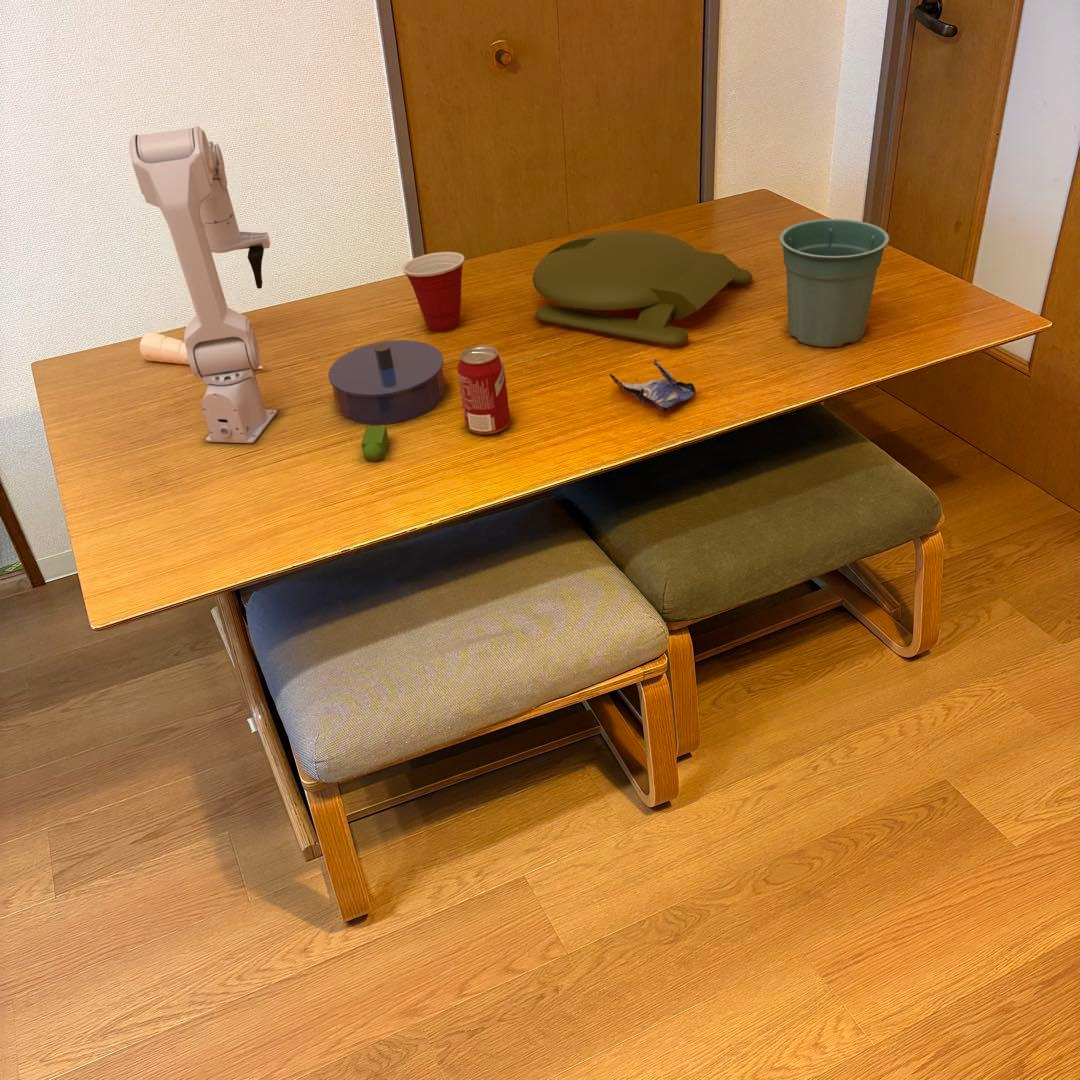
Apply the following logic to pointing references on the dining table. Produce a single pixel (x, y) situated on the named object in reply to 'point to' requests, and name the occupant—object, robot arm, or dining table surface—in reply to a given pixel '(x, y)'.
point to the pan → (392, 404)
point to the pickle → (375, 443)
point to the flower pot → (830, 278)
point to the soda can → (483, 390)
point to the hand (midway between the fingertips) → (237, 288)
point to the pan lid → (386, 368)
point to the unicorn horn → (164, 349)
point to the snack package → (660, 390)
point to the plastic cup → (437, 288)
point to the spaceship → (631, 284)
